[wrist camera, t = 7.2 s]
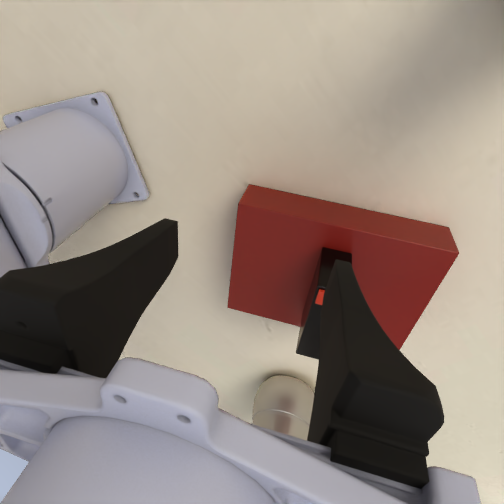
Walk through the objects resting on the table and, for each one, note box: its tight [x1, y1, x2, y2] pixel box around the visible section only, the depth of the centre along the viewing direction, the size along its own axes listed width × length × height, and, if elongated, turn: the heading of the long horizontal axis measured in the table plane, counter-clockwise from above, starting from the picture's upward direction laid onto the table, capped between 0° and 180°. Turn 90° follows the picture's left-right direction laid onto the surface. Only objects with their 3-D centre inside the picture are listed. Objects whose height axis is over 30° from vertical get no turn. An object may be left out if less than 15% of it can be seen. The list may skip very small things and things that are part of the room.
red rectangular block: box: [228, 184, 459, 350], centre depth 26 cm, size 14×10×3 cm
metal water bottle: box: [252, 375, 314, 441], centre depth 31 cm, size 6×7×20 cm
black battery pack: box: [296, 247, 352, 359], centre depth 23 cm, size 6×2×4 cm, turn 173°
